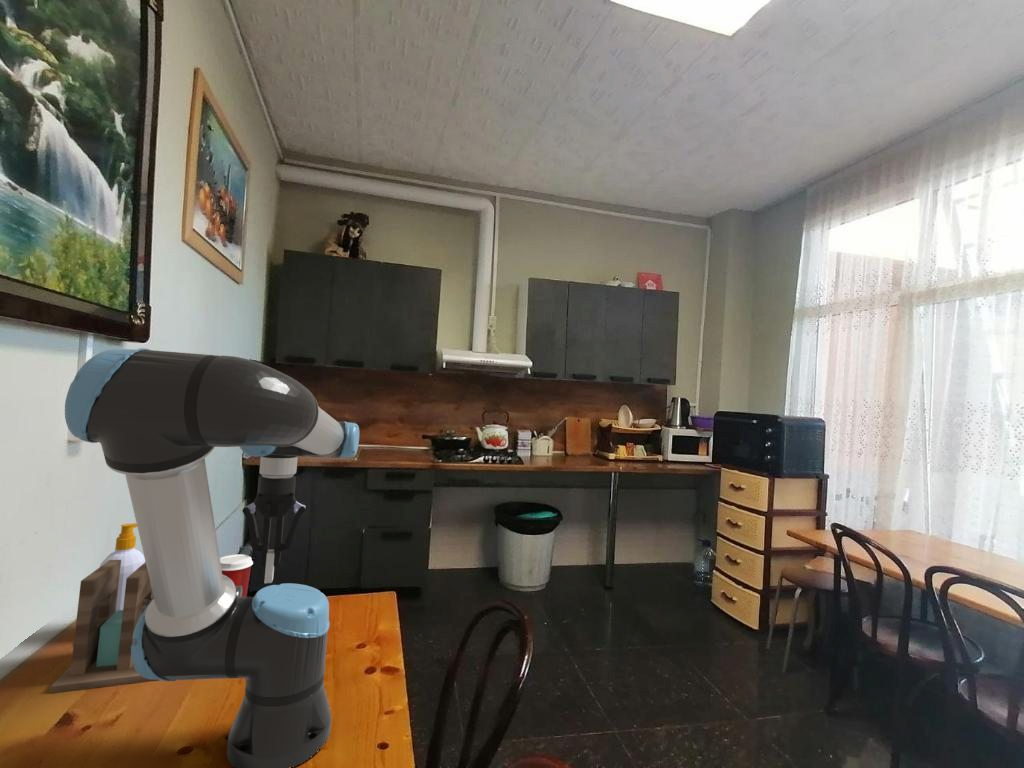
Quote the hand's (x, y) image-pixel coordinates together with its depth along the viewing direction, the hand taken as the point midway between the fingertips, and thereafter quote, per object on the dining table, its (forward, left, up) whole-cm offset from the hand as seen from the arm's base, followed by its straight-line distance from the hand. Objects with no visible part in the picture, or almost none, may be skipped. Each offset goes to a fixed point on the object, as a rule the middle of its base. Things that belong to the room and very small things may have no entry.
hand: (268, 580), depth 104 cm
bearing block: (0, +24, -14) cm, 28 cm away
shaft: (0, +14, -6) cm, 16 cm away
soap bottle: (+15, +31, -14) cm, 37 cm away
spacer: (0, +27, -13) cm, 29 cm away
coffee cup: (+14, +9, -14) cm, 22 cm away
